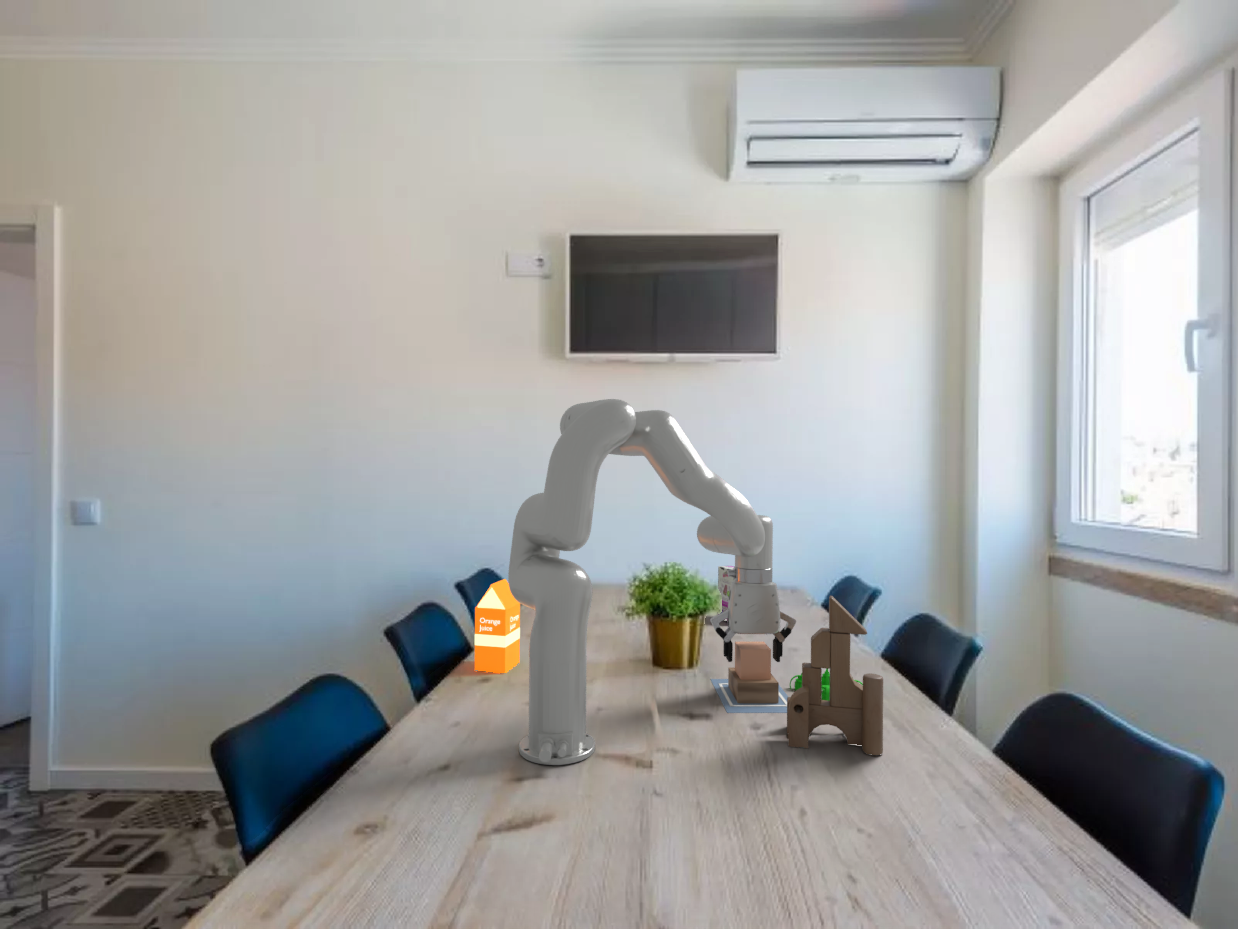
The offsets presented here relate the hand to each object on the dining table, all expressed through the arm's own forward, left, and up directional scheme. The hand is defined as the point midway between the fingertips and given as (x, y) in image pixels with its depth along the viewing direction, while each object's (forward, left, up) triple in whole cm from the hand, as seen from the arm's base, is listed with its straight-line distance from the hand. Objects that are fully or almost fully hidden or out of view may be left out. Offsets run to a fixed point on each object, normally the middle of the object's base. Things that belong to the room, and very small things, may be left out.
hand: (752, 660), depth 137 cm
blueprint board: (0, 0, -8) cm, 8 cm away
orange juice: (+22, +55, -8) cm, 60 cm away
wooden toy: (-22, -9, -8) cm, 25 cm away
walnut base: (0, 0, -7) cm, 7 cm away
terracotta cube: (0, 0, -3) cm, 3 cm away
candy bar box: (+68, -9, -8) cm, 69 cm away
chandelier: (+2, -16, -8) cm, 18 cm away
